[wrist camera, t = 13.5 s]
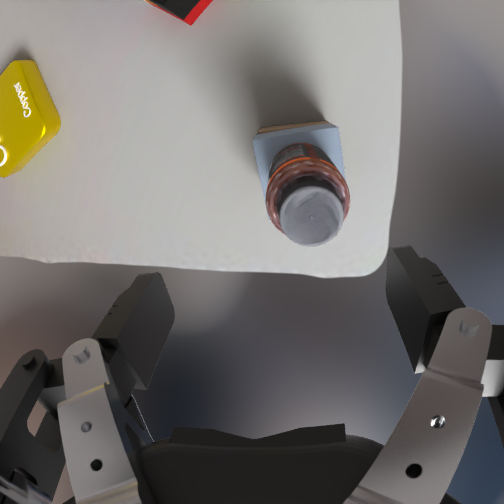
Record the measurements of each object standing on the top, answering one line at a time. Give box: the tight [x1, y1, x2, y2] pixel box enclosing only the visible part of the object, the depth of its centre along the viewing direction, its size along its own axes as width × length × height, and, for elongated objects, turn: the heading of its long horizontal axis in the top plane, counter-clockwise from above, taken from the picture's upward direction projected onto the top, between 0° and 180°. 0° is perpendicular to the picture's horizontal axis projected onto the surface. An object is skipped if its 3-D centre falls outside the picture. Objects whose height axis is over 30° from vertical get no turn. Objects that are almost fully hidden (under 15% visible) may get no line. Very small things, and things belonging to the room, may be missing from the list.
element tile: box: [0, 60, 61, 178], centre depth 34 cm, size 15×15×5 cm
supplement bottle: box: [266, 143, 350, 246], centre depth 23 cm, size 6×6×11 cm
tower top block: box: [252, 123, 346, 220], centre depth 31 cm, size 8×8×5 cm
